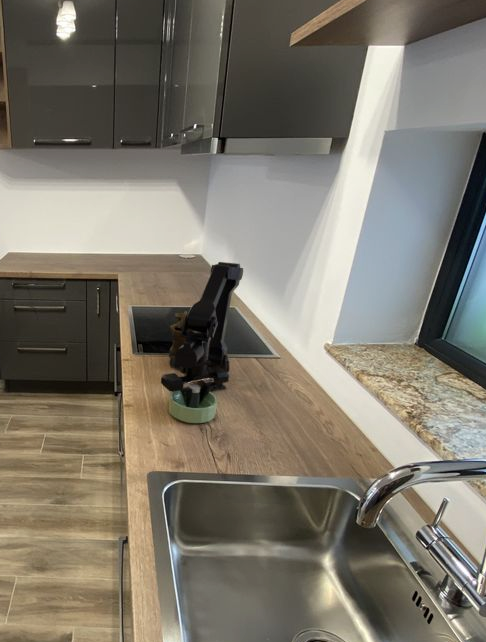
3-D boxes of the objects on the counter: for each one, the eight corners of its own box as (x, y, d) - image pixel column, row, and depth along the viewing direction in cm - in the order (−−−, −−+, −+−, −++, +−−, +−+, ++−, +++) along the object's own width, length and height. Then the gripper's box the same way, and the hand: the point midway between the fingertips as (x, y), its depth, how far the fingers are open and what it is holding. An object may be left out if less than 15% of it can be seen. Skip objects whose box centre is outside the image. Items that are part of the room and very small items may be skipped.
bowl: (199, 399, 136) (201, 384, 134) (224, 420, 125) (226, 404, 123) (160, 406, 132) (161, 391, 130) (183, 428, 121) (184, 412, 119)
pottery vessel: (195, 381, 147) (201, 324, 139) (163, 377, 150) (167, 321, 142) (201, 353, 169) (207, 303, 161) (173, 350, 172) (177, 300, 164)
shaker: (194, 407, 130) (196, 382, 127) (200, 413, 127) (203, 388, 124) (183, 409, 129) (185, 384, 126) (189, 415, 126) (192, 390, 123)
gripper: (210, 340, 131) (205, 388, 137) (153, 348, 125) (150, 397, 131) (233, 354, 121) (226, 404, 128) (172, 363, 115) (168, 415, 122)
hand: (192, 404), depth 127 cm, fingers closed on shaker, 3 cm apart
